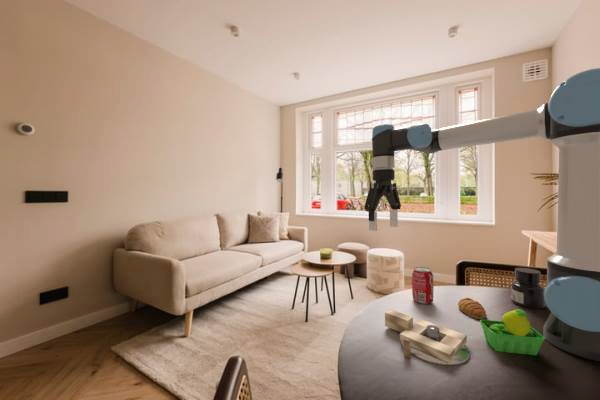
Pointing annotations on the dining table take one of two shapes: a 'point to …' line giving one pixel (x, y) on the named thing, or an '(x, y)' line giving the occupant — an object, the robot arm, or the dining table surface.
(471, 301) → the pastry
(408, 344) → the dowel
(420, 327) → the wooden block frame
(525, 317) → the fruit basket
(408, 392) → the dining table surface
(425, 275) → the soda can
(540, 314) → the dining table surface
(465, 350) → the pot lid
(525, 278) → the ink bottle
